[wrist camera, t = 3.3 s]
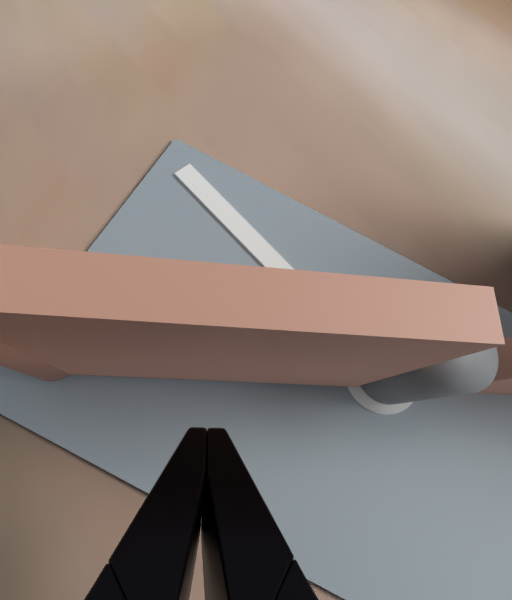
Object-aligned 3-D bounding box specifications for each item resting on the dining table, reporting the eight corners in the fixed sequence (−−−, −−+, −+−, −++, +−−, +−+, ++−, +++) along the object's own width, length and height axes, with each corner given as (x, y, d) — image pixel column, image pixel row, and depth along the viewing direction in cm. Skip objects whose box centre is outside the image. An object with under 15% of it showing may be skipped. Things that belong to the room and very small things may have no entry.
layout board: (555, 712, 14) (564, 718, 14) (-25, 398, 14) (-31, 398, 14) (598, 360, 19) (605, 358, 19) (175, 140, 20) (174, 136, 20)
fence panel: (410, 343, 17) (611, 262, 9) (418, 405, 17) (649, 378, 8) (36, 320, 15) (-158, 183, 7) (19, 390, 14) (-229, 332, 6)
